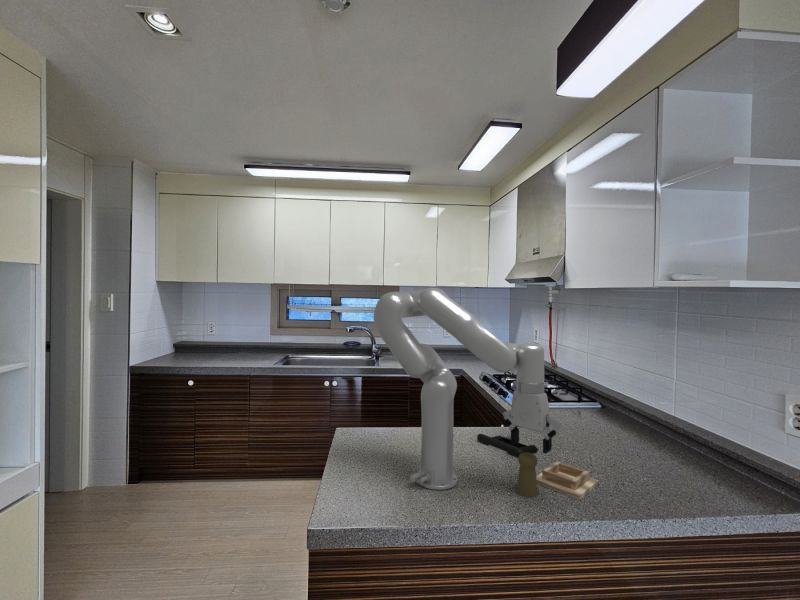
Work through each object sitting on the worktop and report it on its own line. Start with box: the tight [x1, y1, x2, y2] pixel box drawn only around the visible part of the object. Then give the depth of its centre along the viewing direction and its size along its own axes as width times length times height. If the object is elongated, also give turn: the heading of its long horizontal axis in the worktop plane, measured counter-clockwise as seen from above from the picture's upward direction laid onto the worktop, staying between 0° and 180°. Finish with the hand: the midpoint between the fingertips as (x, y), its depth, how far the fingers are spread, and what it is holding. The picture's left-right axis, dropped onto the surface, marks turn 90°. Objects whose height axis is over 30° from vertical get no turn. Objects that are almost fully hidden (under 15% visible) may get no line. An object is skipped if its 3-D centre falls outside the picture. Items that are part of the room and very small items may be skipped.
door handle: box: [476, 433, 539, 458], centre depth 151 cm, size 3×20×16 cm
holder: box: [536, 461, 600, 501], centre depth 122 cm, size 14×14×4 cm
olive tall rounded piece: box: [515, 452, 539, 499], centre depth 116 cm, size 6×6×11 cm
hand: (530, 447), depth 115 cm, fingers open, 9 cm apart
